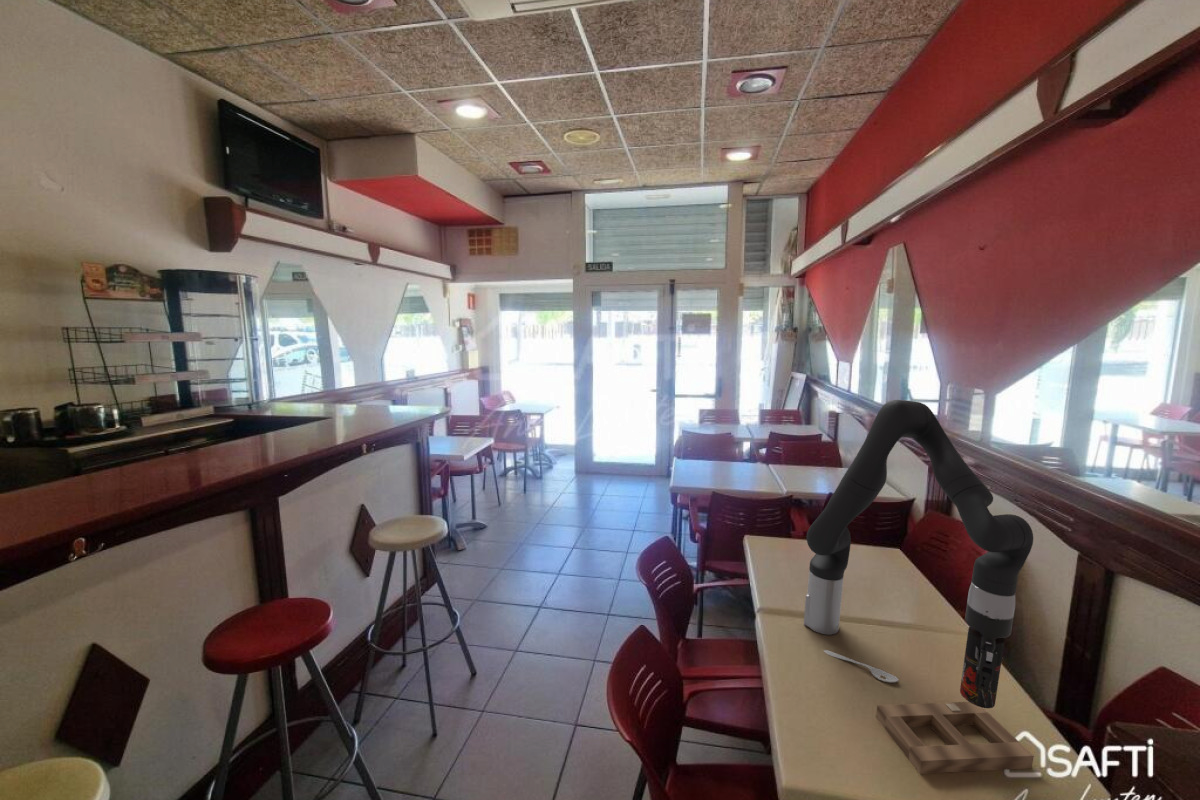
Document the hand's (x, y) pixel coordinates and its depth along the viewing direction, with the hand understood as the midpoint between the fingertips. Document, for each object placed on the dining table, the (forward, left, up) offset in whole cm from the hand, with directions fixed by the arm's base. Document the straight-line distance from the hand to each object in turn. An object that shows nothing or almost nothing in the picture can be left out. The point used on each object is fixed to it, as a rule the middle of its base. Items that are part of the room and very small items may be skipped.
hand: (979, 678), depth 100 cm
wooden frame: (-4, -3, -15) cm, 16 cm away
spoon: (-24, +12, -16) cm, 31 cm away
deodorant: (0, 0, -5) cm, 5 cm away
